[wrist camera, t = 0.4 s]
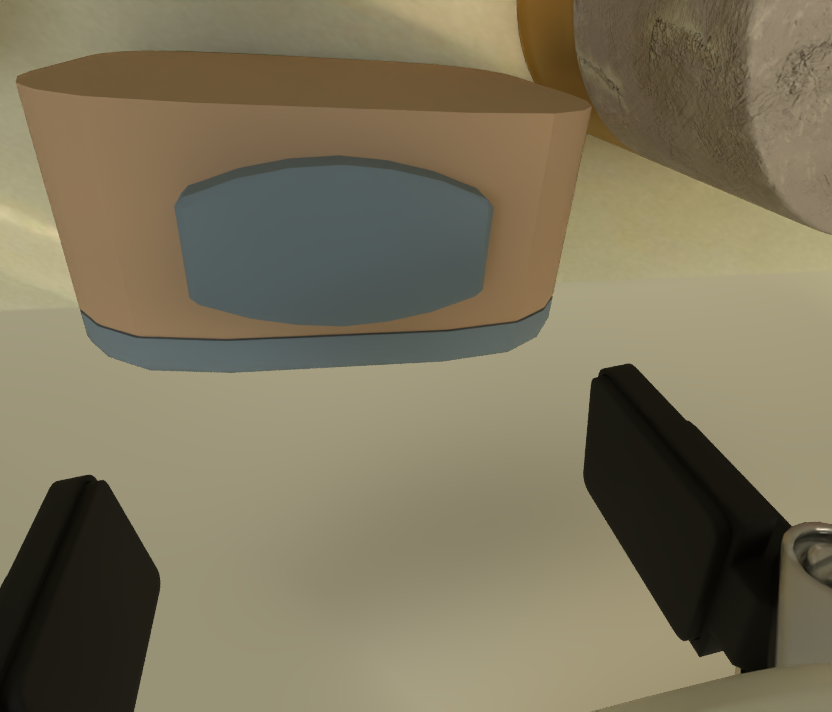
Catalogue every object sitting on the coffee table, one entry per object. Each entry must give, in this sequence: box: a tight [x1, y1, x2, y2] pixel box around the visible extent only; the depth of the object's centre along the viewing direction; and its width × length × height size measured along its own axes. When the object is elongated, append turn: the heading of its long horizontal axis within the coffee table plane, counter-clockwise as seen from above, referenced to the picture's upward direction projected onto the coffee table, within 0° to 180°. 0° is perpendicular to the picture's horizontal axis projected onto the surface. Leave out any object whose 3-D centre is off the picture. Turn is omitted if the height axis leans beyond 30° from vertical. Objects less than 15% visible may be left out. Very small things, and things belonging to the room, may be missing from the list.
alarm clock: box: [16, 51, 592, 373], centre depth 27 cm, size 21×10×22 cm, turn 86°
